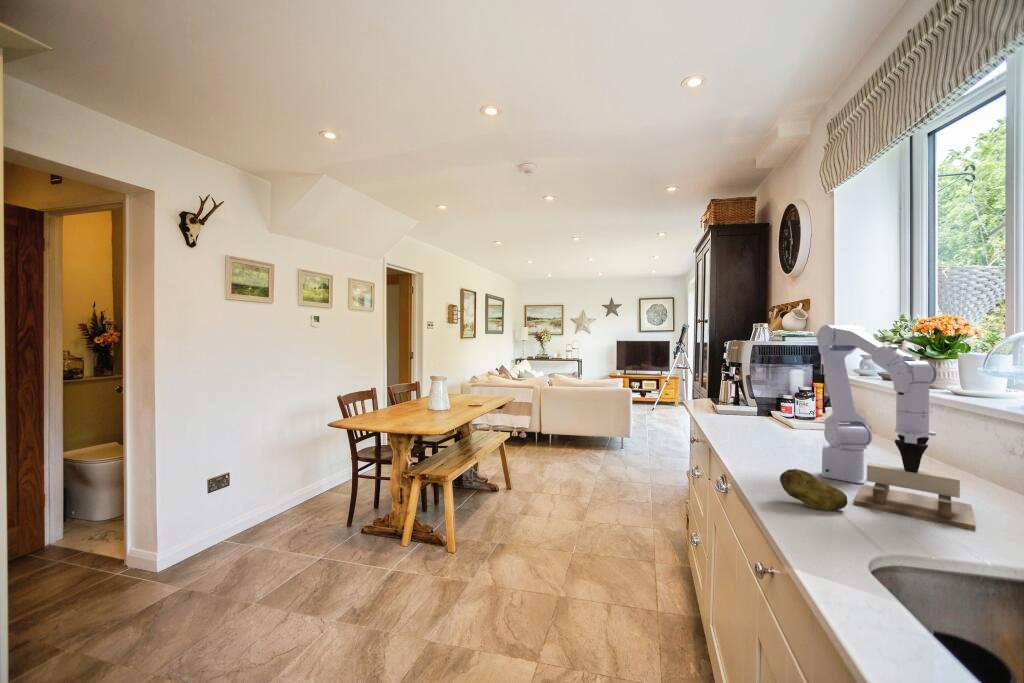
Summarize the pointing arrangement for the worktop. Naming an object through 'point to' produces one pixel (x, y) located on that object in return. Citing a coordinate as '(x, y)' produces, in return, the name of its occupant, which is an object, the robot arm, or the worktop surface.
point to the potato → (812, 490)
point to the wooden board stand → (916, 505)
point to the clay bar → (914, 480)
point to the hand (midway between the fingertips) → (911, 468)
